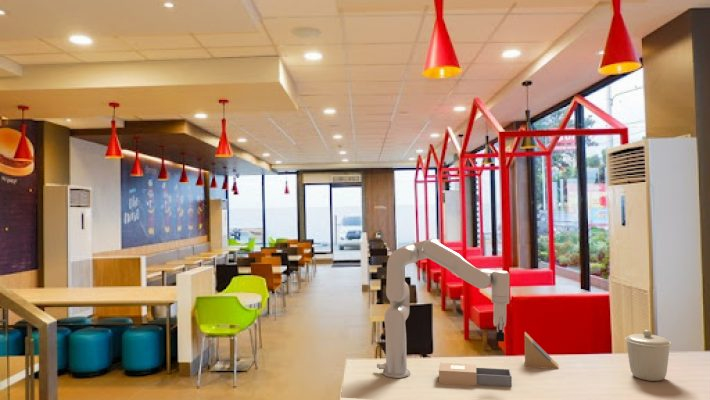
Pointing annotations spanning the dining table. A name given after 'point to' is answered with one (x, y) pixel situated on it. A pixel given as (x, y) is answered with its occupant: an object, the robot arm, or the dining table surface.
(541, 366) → the sandwich container
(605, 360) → the dining table surface
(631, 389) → the dining table surface
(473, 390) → the dining table surface
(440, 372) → the mailer sleeve
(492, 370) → the tray
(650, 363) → the canister
